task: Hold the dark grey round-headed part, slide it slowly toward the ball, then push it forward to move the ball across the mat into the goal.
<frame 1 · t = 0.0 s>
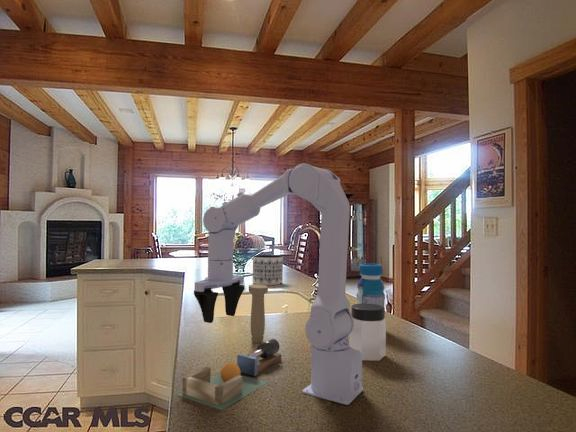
hand: (219, 318, 91), 10 cm above the worktop, tool pointing down, fingers open, 7 cm apart
handle: (257, 342, 107), on the worktop
ball: (230, 373, 79), point 2 cm above the worktop, touching mat
beverage bottle: (370, 331, 120), on the worktop
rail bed: (263, 366, 89), on the worktop
dark grey round-headed part: (260, 355, 88), point 3 cm above the worktop, slide at 0.0 cm
mat: (224, 389, 76), on the worktop
goal: (212, 392, 74), resting on mat
jar: (367, 356, 97), on the worktop
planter: (267, 283, 209), on the worktop
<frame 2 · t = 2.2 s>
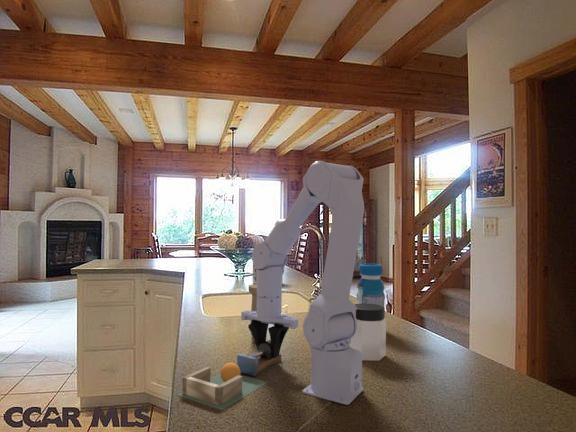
hand: (268, 355, 90), 2 cm above the worktop, tool pointing down, fingers closed on dark grey round-headed part, 3 cm apart
dark grey round-headed part: (260, 355, 88), point 3 cm above the worktop, slide at 0.0 cm, touching gripper
everything else where it was.
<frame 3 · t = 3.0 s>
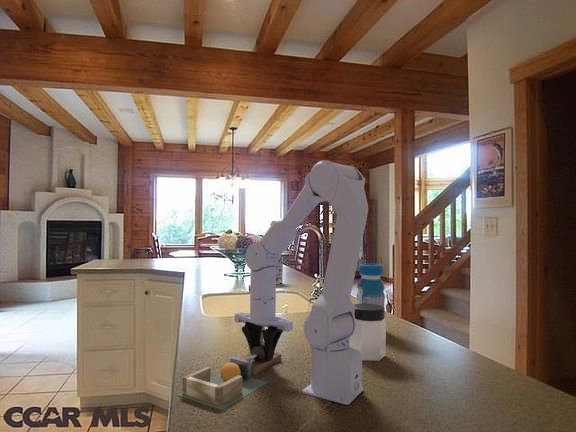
hand: (262, 358, 88), 2 cm above the worktop, tool pointing down, fingers closed on dark grey round-headed part, 3 cm apart
dark grey round-headed part: (254, 358, 86), point 3 cm above the worktop, slide at 2.4 cm, touching gripper
everything else where it was.
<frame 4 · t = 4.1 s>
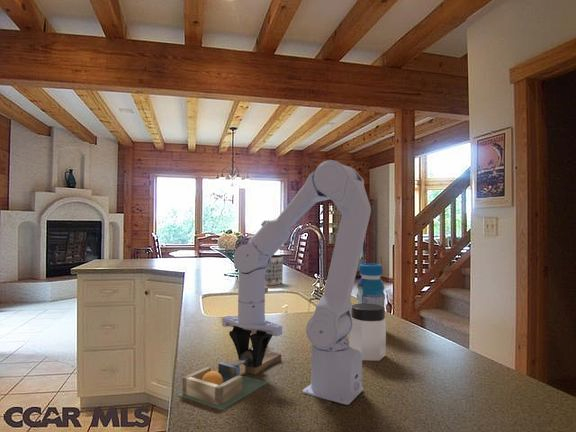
hand: (250, 364, 85), 2 cm above the worktop, tool pointing down, fingers closed on dark grey round-headed part, 3 cm apart
ball: (212, 382, 74), point 2 cm above the worktop, tilted 150°, touching mat
dark grey round-headed part: (243, 363, 83), point 3 cm above the worktop, slide at 6.0 cm, touching gripper
everything else where it was.
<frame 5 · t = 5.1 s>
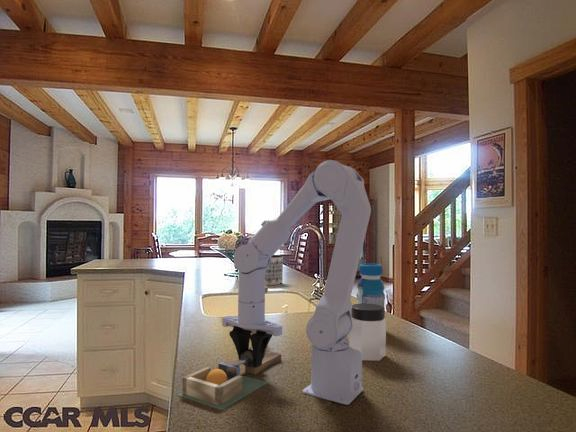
hand: (250, 364, 85), 2 cm above the worktop, tool pointing down, fingers closed on dark grey round-headed part, 3 cm apart
ball: (216, 380, 75), point 2 cm above the worktop, tilted 114°, touching mat
dark grey round-headed part: (243, 363, 83), point 3 cm above the worktop, slide at 6.0 cm, touching gripper
everything else where it was.
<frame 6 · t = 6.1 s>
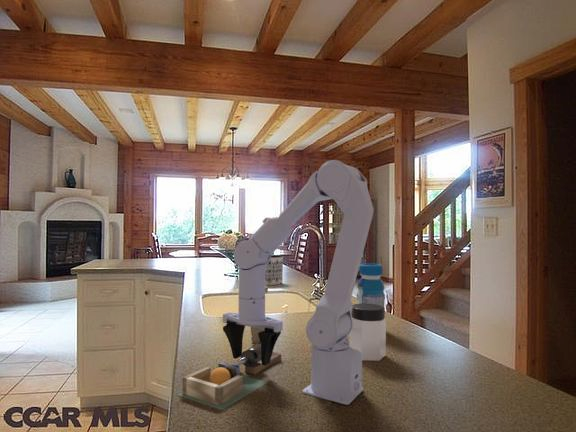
hand: (251, 360, 85), 3 cm above the worktop, tool pointing down, fingers open, 7 cm apart
ball: (220, 378, 76), point 2 cm above the worktop, tilted 85°, touching mat
dark grey round-headed part: (243, 363, 83), point 3 cm above the worktop, slide at 6.0 cm
everything else where it was.
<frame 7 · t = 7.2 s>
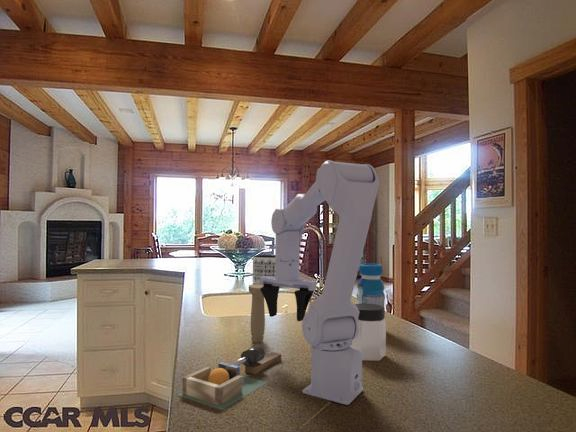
hand: (286, 318, 93), 10 cm above the worktop, tool pointing down, fingers open, 7 cm apart
ball: (218, 379, 76), point 2 cm above the worktop, tilted 96°, touching mat
everything else where it was.
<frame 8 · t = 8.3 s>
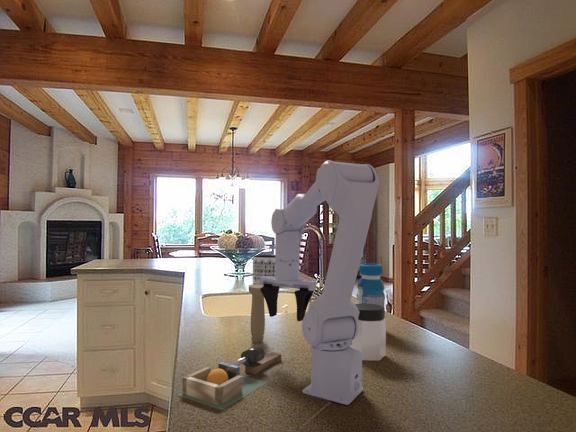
hand: (286, 318, 93), 10 cm above the worktop, tool pointing down, fingers open, 7 cm apart
ball: (217, 379, 76), point 2 cm above the worktop, tilted 107°, touching mat
everything else where it was.
at the end: ball 1.1 cm from the target spot, point 2.2 cm above the worktop; dark grey round-headed part slide at 6.0 cm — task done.
